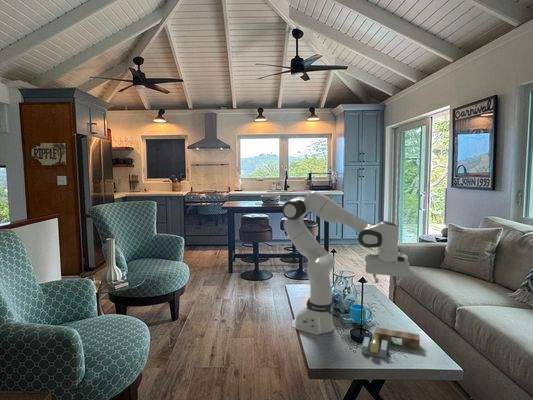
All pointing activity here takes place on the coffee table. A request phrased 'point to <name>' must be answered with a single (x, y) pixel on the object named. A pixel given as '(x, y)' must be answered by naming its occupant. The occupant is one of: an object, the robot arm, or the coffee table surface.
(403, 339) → the beam
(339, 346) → the coffee table surface
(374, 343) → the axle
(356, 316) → the mug
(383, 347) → the cradle
